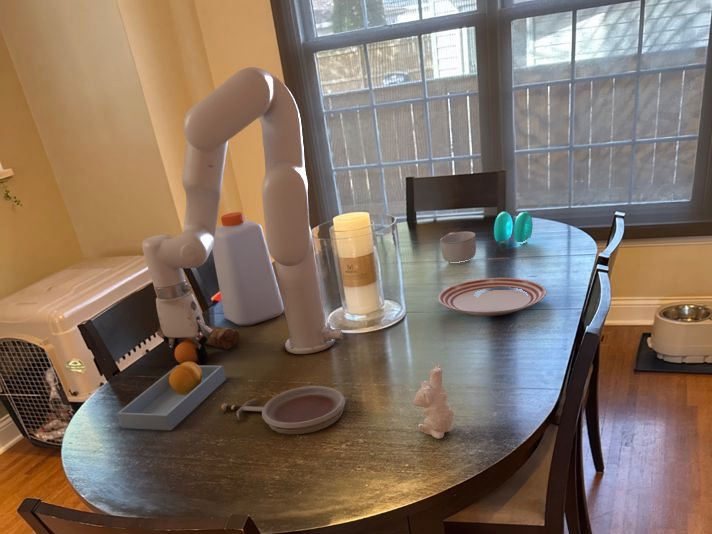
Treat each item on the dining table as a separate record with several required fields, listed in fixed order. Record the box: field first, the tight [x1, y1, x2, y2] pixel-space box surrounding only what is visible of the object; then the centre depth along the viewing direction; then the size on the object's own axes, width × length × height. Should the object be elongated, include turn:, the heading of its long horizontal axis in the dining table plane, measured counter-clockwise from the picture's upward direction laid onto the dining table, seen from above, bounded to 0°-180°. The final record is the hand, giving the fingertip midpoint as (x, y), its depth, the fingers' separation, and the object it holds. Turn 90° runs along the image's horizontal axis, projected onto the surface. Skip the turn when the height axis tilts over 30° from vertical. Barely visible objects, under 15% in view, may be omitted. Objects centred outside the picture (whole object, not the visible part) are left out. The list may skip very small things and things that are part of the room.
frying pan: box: [220, 385, 346, 435], centre depth 136 cm, size 17×3×28 cm
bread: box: [197, 325, 241, 350], centre depth 176 cm, size 6×19×6 cm, turn 47°
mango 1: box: [174, 338, 199, 365], centre depth 167 cm, size 6×9×6 cm, turn 162°
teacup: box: [439, 231, 477, 266], centre depth 209 cm, size 14×11×8 cm
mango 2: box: [169, 362, 202, 395], centre depth 152 cm, size 6×9×6 cm, turn 162°
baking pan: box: [116, 364, 227, 431], centre depth 148 cm, size 12×24×4 cm, turn 162°
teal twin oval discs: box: [493, 211, 534, 246], centre depth 216 cm, size 10×10×10 cm
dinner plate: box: [437, 277, 547, 317], centre depth 173 cm, size 27×27×3 cm
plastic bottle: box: [211, 211, 284, 327], centre depth 185 cm, size 15×15×28 cm
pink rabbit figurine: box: [412, 365, 455, 440], centre depth 118 cm, size 8×7×12 cm
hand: (192, 360), depth 168 cm, fingers closed on mango 1, 5 cm apart
